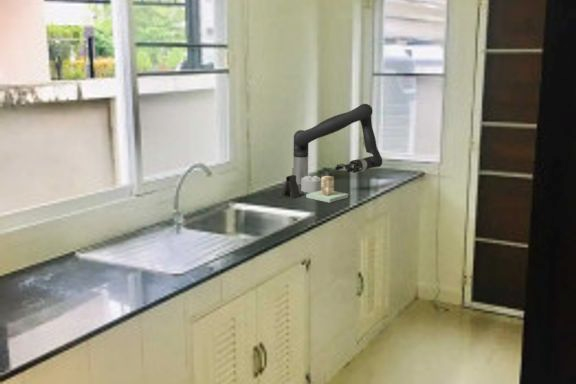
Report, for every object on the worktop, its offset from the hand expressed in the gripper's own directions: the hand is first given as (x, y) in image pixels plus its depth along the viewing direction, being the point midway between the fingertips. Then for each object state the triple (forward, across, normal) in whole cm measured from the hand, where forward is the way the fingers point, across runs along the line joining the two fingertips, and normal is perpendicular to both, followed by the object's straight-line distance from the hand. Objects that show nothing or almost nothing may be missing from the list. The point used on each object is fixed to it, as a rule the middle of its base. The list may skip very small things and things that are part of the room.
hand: (341, 169), depth 349 cm
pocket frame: (+12, 0, +14) cm, 19 cm away
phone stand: (+24, -18, +14) cm, 33 cm away
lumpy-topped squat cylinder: (+6, -18, +14) cm, 24 cm away
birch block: (+12, 0, +14) cm, 19 cm away
